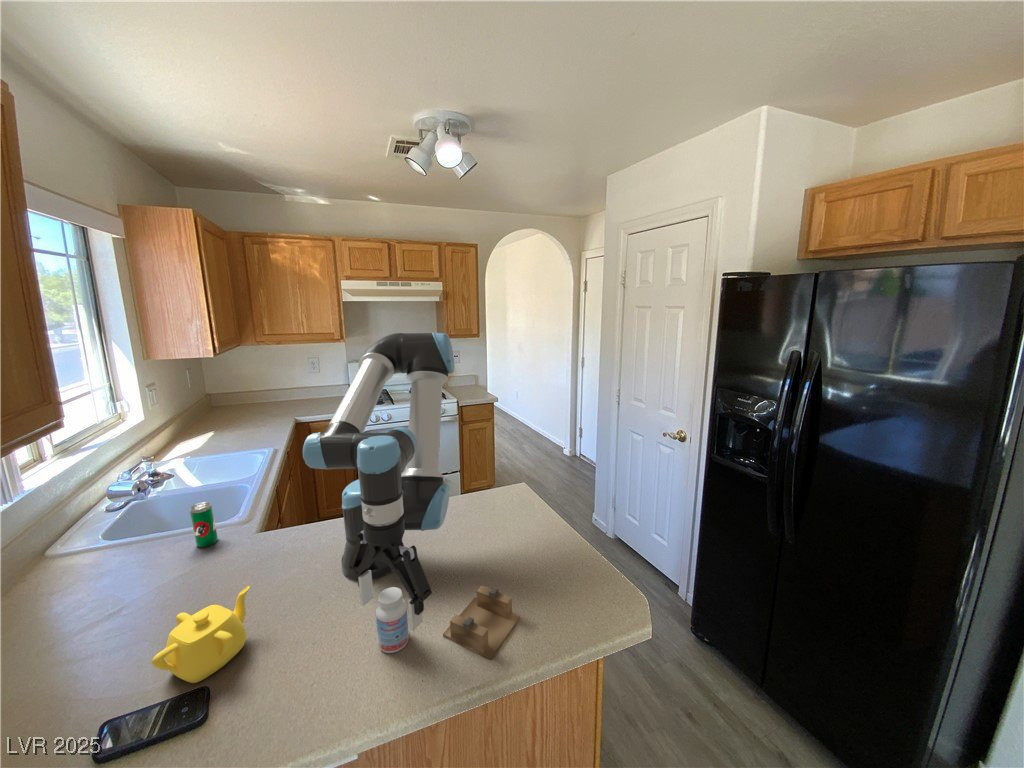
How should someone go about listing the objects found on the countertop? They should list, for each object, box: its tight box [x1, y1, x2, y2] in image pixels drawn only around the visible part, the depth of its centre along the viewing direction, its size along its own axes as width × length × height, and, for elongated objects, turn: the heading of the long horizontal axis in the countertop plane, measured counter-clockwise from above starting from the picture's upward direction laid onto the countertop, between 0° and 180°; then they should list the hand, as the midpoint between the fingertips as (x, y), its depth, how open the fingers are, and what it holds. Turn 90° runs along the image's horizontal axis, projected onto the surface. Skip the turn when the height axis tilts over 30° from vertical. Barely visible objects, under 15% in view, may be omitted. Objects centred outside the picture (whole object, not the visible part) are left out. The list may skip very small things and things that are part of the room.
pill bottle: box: [375, 586, 409, 654], centre depth 83 cm, size 6×6×11 cm
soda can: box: [189, 501, 219, 548], centre depth 116 cm, size 5×5×12 cm
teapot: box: [151, 585, 251, 684], centre depth 79 cm, size 14×13×10 cm
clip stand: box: [442, 585, 521, 661], centre depth 87 cm, size 12×12×6 cm
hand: (390, 613), depth 82 cm, fingers open, 13 cm apart
